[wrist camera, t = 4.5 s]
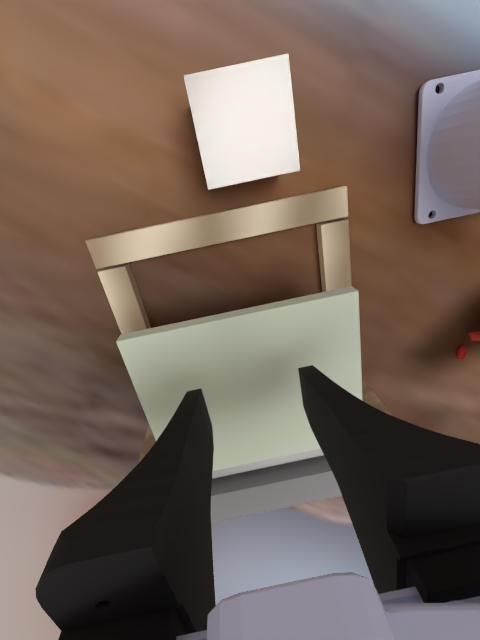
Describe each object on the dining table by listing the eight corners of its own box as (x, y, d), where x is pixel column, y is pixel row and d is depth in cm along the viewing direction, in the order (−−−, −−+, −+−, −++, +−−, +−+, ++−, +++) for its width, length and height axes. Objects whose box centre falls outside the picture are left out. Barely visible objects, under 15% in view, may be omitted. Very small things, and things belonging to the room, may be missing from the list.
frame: (340, 186, 20) (405, 184, 13) (353, 425, 28) (397, 498, 21) (91, 238, 20) (29, 262, 13) (176, 462, 28) (164, 547, 21)
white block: (268, 89, 17) (288, 53, 13) (279, 175, 19) (300, 170, 15) (191, 105, 17) (183, 75, 13) (209, 190, 19) (208, 189, 15)
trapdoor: (345, 282, 16) (365, 295, 14) (355, 461, 22) (370, 489, 19) (124, 328, 16) (111, 348, 14) (188, 496, 22) (185, 528, 19)
